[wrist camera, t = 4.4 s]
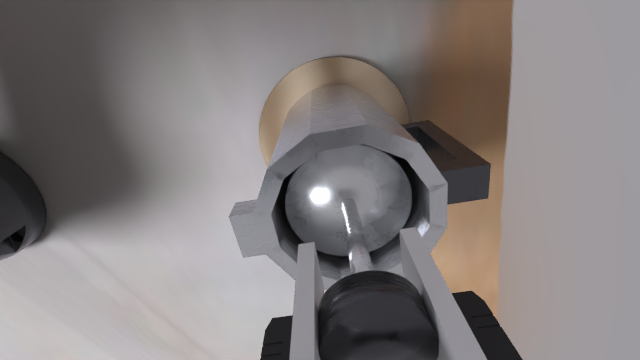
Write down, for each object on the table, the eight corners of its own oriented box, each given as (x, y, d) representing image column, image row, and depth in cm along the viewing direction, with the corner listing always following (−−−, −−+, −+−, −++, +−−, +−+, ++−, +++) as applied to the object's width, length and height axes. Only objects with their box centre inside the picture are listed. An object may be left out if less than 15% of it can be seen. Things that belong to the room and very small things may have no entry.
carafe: (282, 193, 35) (259, 304, 20) (258, 97, 30) (206, 151, 15) (419, 171, 34) (499, 271, 19) (417, 69, 29) (519, 98, 15)
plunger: (299, 256, 22) (286, 432, 12) (273, 152, 18) (227, 281, 8) (410, 239, 21) (492, 409, 11) (405, 130, 18) (514, 240, 8)
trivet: (278, 210, 36) (278, 213, 36) (242, 72, 29) (240, 73, 29) (411, 190, 35) (412, 192, 35) (404, 43, 29) (406, 43, 28)
